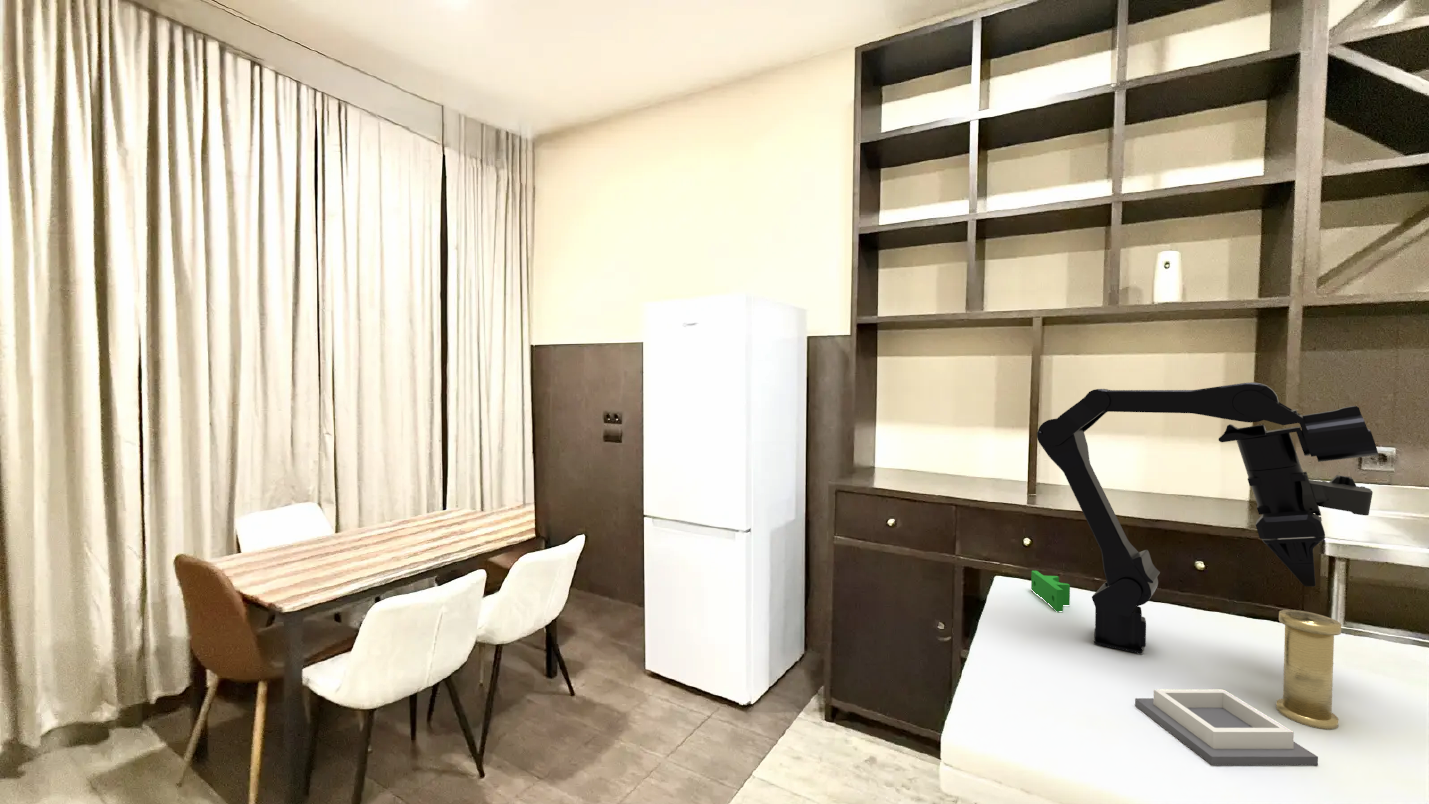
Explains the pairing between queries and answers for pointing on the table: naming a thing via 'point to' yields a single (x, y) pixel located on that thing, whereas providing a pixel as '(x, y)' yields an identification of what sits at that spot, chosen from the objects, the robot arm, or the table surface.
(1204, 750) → the socket plate
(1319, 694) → the brass fitting
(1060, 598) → the green notched block
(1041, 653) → the table surface
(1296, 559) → the robot arm
